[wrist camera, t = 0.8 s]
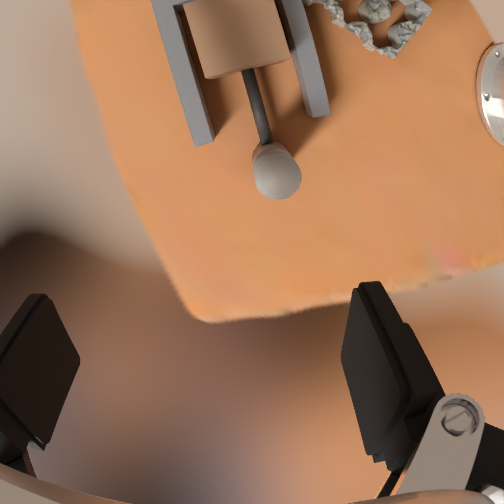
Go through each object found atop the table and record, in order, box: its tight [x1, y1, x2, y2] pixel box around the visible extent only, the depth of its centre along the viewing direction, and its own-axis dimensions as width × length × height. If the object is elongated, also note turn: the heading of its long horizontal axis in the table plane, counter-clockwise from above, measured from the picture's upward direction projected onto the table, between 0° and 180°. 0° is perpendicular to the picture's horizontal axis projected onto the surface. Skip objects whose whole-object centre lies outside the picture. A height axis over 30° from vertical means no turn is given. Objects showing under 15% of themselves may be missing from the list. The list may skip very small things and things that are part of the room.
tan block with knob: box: [183, 0, 301, 200], centre depth 21 cm, size 6×16×6 cm, turn 15°
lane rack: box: [151, 0, 331, 147], centre depth 21 cm, size 11×14×2 cm
